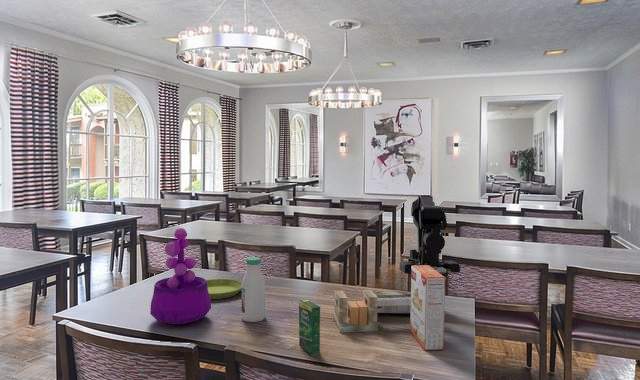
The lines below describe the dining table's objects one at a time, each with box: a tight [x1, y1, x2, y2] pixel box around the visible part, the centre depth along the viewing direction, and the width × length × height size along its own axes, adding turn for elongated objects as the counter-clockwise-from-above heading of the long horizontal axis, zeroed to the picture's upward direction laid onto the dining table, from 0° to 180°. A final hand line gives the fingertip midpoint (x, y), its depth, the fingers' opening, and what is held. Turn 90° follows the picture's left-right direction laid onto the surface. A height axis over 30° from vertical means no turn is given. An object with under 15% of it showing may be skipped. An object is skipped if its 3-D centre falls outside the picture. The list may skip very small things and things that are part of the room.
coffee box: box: [372, 290, 411, 314], centre depth 155 cm, size 9×6×16 cm
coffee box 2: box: [298, 299, 321, 357], centre depth 124 cm, size 8×3×13 cm, turn 28°
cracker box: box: [409, 265, 446, 351], centre depth 131 cm, size 14×6×21 cm, turn 5°
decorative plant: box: [149, 227, 212, 325], centre depth 144 cm, size 19×19×30 cm
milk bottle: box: [241, 256, 266, 323], centre depth 147 cm, size 8×8×20 cm
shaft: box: [377, 297, 411, 306], centre depth 145 cm, size 20×3×10 cm, turn 99°
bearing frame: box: [332, 289, 380, 334], centre depth 143 cm, size 12×12×10 cm
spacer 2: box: [355, 300, 368, 325], centre depth 144 cm, size 2×6×6 cm, turn 7°
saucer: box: [205, 278, 242, 300], centre depth 175 cm, size 21×21×3 cm
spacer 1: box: [347, 300, 359, 326], centre depth 143 cm, size 2×6×6 cm, turn 7°
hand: (428, 292), depth 147 cm, fingers closed on shaft, 3 cm apart
